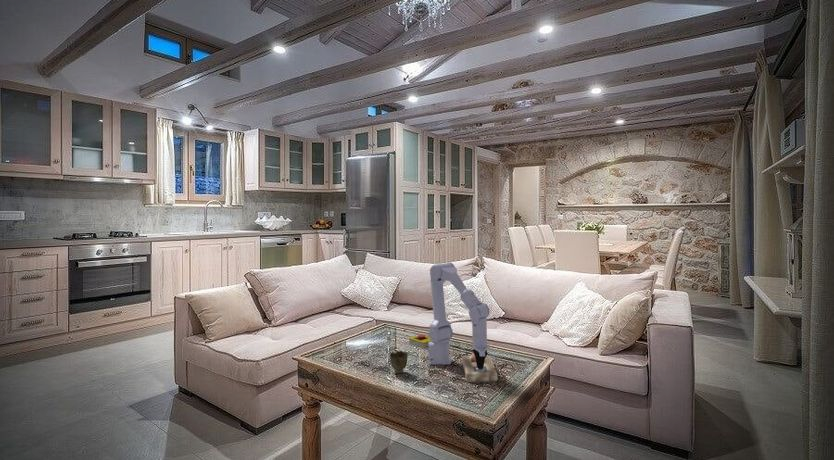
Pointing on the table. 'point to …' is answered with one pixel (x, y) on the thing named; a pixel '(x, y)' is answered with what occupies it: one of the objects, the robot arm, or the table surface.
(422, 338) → the emergency button
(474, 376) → the button panel
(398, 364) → the cup
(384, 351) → the table surface
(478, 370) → the grey button
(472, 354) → the terracotta button
